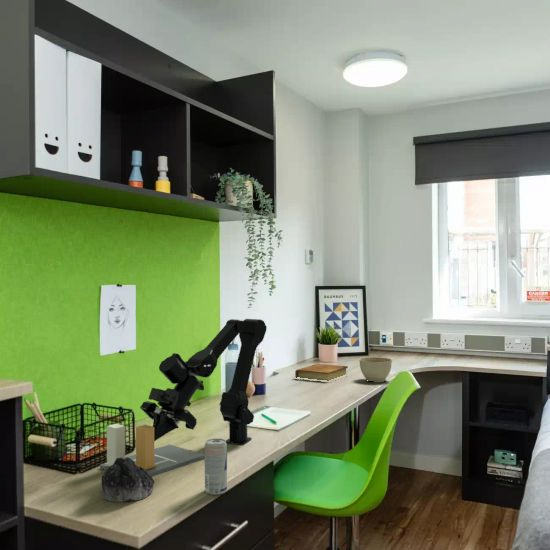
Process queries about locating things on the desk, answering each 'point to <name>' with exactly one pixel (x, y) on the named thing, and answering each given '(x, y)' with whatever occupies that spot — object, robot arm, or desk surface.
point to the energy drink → (215, 466)
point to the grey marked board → (168, 459)
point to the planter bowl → (375, 368)
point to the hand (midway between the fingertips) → (150, 441)
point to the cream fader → (115, 443)
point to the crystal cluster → (126, 481)
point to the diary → (321, 372)
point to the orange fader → (145, 447)
